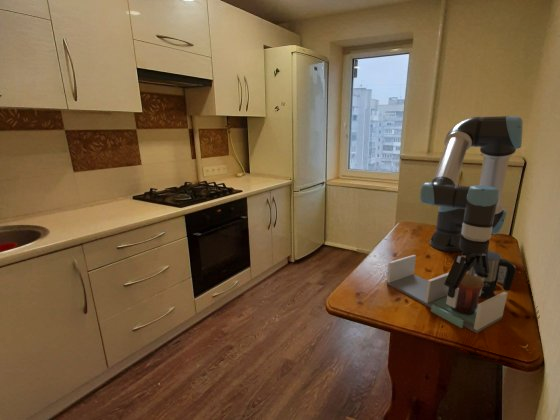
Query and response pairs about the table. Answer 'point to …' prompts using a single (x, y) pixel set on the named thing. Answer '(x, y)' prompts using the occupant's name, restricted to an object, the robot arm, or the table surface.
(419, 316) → the table surface
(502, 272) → the mug
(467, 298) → the mug
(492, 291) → the milk frother
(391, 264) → the rack
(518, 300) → the table surface
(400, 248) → the table surface
